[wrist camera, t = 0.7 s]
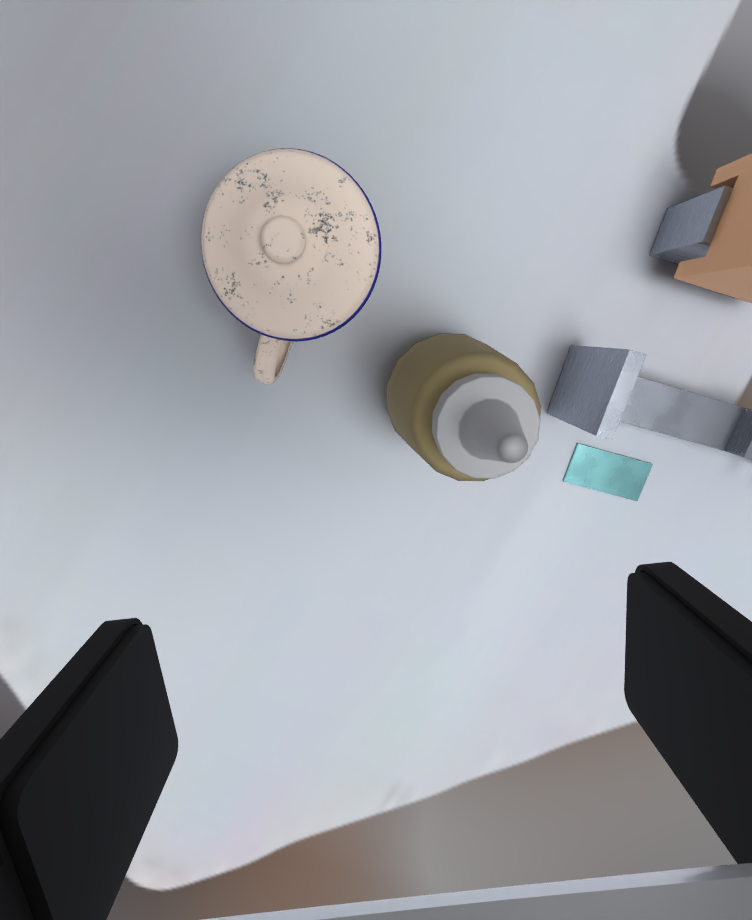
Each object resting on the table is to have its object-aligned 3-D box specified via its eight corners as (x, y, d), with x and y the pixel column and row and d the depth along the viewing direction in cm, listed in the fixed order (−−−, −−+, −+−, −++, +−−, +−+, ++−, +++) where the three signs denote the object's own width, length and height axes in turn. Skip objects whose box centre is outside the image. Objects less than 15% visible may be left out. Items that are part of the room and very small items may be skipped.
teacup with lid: (261, 172, 32) (207, 87, 21) (395, 223, 33) (412, 168, 22) (214, 354, 35) (144, 365, 24) (339, 395, 36) (329, 426, 25)
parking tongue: (667, 208, 33) (725, 185, 28) (774, 243, 34) (851, 227, 29) (649, 255, 34) (702, 241, 29) (755, 288, 35) (826, 281, 29)
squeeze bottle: (361, 373, 36) (360, 415, 18) (460, 309, 35) (559, 288, 17) (420, 466, 37) (472, 585, 20) (515, 407, 36) (657, 479, 19)
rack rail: (571, 345, 35) (629, 349, 28) (821, 419, 37) (942, 442, 30) (525, 470, 38) (568, 507, 30) (764, 534, 40) (862, 584, 32)
